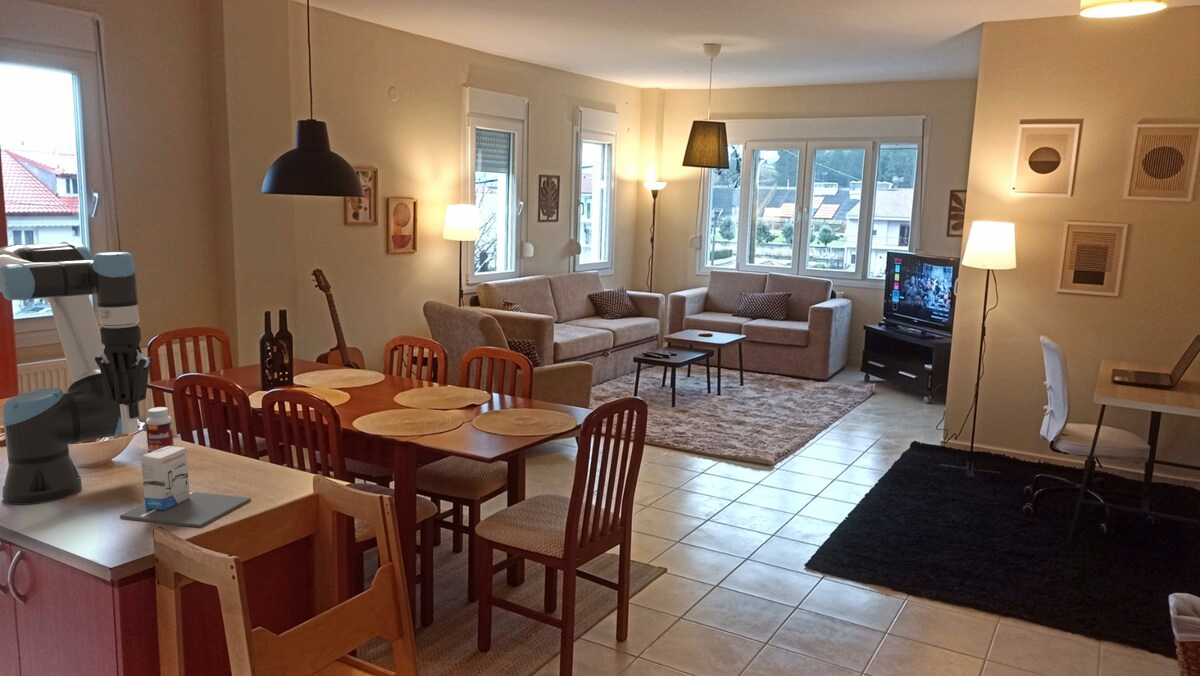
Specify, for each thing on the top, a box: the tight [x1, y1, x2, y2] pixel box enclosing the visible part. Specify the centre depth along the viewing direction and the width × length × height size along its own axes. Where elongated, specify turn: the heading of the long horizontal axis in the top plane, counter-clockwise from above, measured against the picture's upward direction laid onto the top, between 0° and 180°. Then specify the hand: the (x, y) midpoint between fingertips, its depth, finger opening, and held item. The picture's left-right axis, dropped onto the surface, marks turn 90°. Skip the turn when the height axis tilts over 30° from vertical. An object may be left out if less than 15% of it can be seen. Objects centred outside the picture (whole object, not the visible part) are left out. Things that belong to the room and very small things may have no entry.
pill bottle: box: [145, 406, 175, 452], centre depth 228 cm, size 6×6×11 cm
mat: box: [119, 491, 252, 528], centre depth 186 cm, size 20×16×1 cm
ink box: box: [140, 446, 191, 510], centre depth 186 cm, size 9×5×12 cm, turn 167°
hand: (130, 432), depth 186 cm, fingers closed
